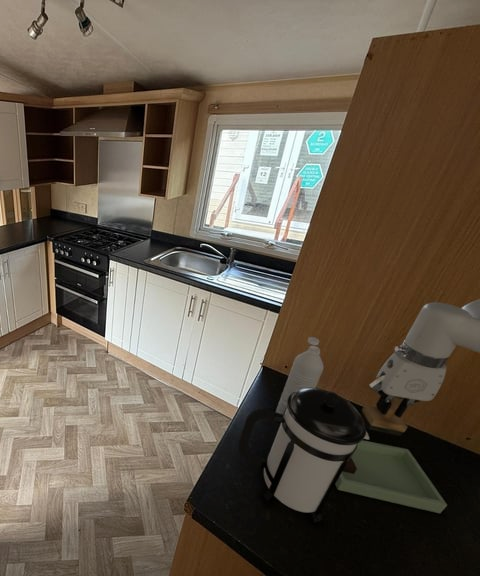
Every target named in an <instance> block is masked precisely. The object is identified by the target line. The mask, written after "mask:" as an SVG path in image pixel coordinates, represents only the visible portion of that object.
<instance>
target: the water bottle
mask: <svg viewBox="0 0 480 576" xmlns="http://www.w3.org/2000/svg"><path fill="white" fill-rule="evenodd" d="M307 343H308V344H310V346H309V347H308V348H307V350H306V351H303V352H302V353H299V354H298V355H296V356H295V358H294V359H293V363H292V366H291V369H290V371H289V374H288V377H287V379H286V382H285V385H284V387H283V391H282V392H281V395H280V399H279V401H278V404H277V407H276V409H275V413H279V414H283V413H284V410H285V409H286V408H287V400H288V397H289V396H290V394H292V393H293V392H295V391H298V390H300V389H303V388H317V385H318V383H319V381H320V379H321V376H322V374H323V372H324V367H325V366H324V362H323V360H322V358H321V355H320V354H321V348H319V347H318V345H319V344H320V340H319V338H317V337H314V336H309V337H308V338H307ZM283 417H284V416H283Z"/></svg>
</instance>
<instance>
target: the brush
mask: <svg viewBox="0 0 480 576" xmlns="http://www.w3.org/2000/svg"><path fill="white" fill-rule="evenodd" d="M403 399H404V398H403V397H397V396H394V397H393V399H392V400H391V403H392V405H391V407H390V409H389V410H388V412H387V414H385V415H383V414H381V412H380V411H379V409H378V408H377V406H374V405H373V406H372V405H368V404H364V405H363V407H362V408H361V412H359V413H360V415H361V417H362V419H363V422H364V424H365V427H367V429H368V430H371V431H376V432H380V433H384V434H390V435H394V436H399V437H402V435H403V434H404V433H405V432H406V431H407V429H408V428H409V427H408V425H407V424H406V423H405V421H404V419H403V417H402V416H401V417H397V416H396V415H395V414H394V413H395V412H396V410H397V408H398V407H399V405H400V404H401V402H402V400H403Z"/></svg>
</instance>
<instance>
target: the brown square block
mask: <svg viewBox="0 0 480 576" xmlns="http://www.w3.org/2000/svg"><path fill="white" fill-rule="evenodd" d="M356 470H357V468H356V466H355V464H354V462H353V460H352V458H350V459H349V460H348V461H347V464H346V466H345V467H344V469H343V472H347V473H352V474H354V473H355V471H356Z"/></svg>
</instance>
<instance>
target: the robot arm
mask: <svg viewBox="0 0 480 576" xmlns="http://www.w3.org/2000/svg"><path fill="white" fill-rule="evenodd" d="M457 346H459V347H461V348H464V349H467V350H470V351H473V352H475V353H478V354H480V298H479V299H476V300H473V301H471V302H469V303H467V304H465V305H464V306H462V307H459V306H456V305H453V304H450V303H445V302H428V303H426V304H424V305H423V307H421V309H420V311H419V313H418V315H417V316H416V318H415V320H414V322H413V324H412V325H411V327H410V329H409V331H408V333H407V335H406V336H405V338H404V340H403V342H402V343H401V345H396V346H394V352H393V353H392V354H391V355H390V356H389V357H388V358H387V360H386V361H385V362H384V364H383V365H382V366H381V368H380V369H379V371H378V373H377V375H376V377H375V380H374V381H372V382H371V383H369V384H368V388H370V390H372V391H373V392H375V393H377V394H378V395H379V396H380V397H379V399H378V400H377V402H376V404H375V405H376V406H375V407H377V408H378V409H379V411H380V412H381V414H383V415H385V414H387V412H388V410H389V409H390V407H391V405H392V403H391V400H392V399H393V397H394V396H397V397H403V398H404V399H403V400H402V402H401V404H400V405H399V407H398V408H397V410H396V412H395V413H394V414H395V415H396V416H397V417H401V418H402V416H403V415H404V413H405V412H406V410H407V408H408V407H412V406H413V405H415V404H416V403H418V402H421V401H422V402H429V401H432V400H433V399H435V398H436V396H437V394H438V393H439V390H440V389H441V387H442V385H443V382H444V380H445V377H446V373H447V369H448V367H447V365H446V362H447V361H448V359H449V358H450V357H451V355H452V354H453V352H454V350H455V349H456V347H457Z"/></svg>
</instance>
